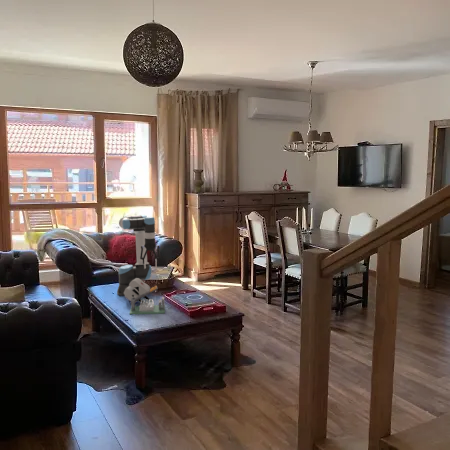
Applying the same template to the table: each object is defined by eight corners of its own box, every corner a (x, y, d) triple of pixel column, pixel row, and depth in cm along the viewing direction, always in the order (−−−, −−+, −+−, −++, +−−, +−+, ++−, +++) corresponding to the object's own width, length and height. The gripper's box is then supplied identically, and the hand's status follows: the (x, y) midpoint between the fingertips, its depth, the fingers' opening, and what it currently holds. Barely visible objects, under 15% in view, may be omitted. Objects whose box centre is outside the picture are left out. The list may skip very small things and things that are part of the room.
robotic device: (140, 314, 354) (154, 295, 350) (118, 297, 356) (132, 278, 352) (145, 310, 365) (159, 291, 360) (124, 294, 366) (137, 274, 362)
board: (131, 307, 348) (131, 306, 348) (164, 306, 351) (164, 304, 351) (129, 314, 332) (129, 313, 332) (164, 313, 335) (164, 311, 335)
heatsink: (140, 306, 347) (140, 299, 346) (154, 306, 348) (153, 299, 347) (139, 311, 335) (139, 304, 334) (153, 311, 336) (153, 304, 335)
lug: (158, 307, 345) (158, 297, 344) (164, 307, 346) (164, 296, 345) (158, 309, 339) (158, 299, 338) (164, 309, 340) (164, 299, 339)
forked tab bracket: (131, 308, 343) (131, 297, 342) (135, 307, 344) (134, 297, 342) (131, 310, 337) (130, 300, 336) (134, 310, 337) (134, 300, 336)
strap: (132, 301, 342) (131, 298, 342) (157, 287, 343) (156, 285, 343) (132, 303, 336) (130, 301, 336) (157, 289, 337) (155, 287, 337)
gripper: (135, 239, 337) (136, 269, 341) (163, 238, 340) (164, 268, 343) (136, 237, 345) (137, 267, 348) (163, 236, 347) (164, 266, 350)
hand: (150, 268), depth 346 cm, fingers open, 8 cm apart
